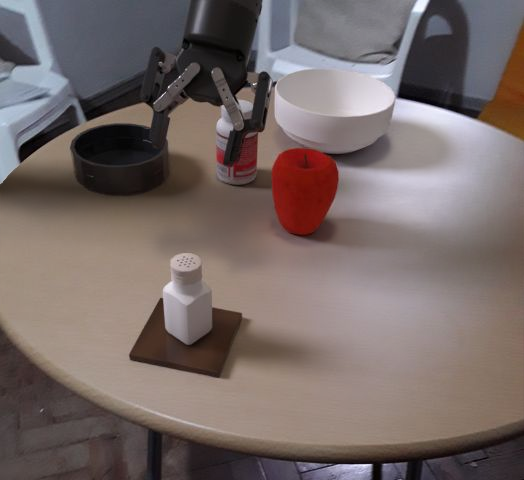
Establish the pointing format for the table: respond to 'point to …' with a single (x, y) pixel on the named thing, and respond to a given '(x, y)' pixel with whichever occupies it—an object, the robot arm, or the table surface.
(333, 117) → the bowl
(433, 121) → the table surface
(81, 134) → the pan
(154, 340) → the coaster
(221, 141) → the pill bottle
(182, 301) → the salt shaker
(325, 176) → the apple
